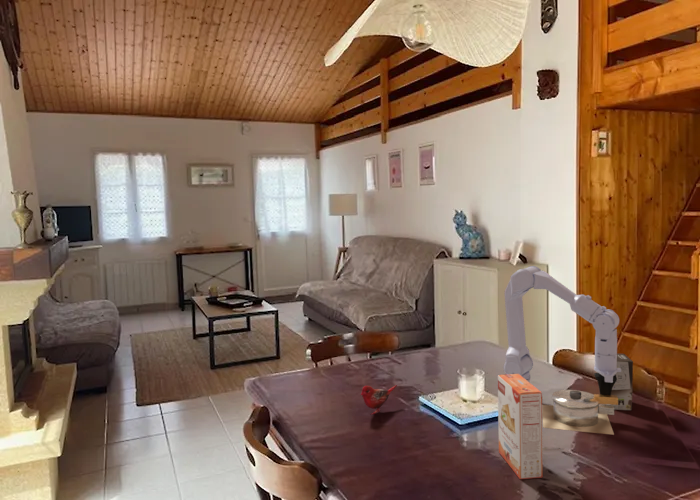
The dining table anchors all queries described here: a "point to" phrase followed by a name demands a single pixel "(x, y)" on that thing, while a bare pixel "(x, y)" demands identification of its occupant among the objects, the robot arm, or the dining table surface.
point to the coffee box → (623, 383)
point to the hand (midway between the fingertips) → (605, 399)
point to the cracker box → (520, 425)
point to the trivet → (600, 427)
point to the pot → (580, 414)
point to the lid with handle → (582, 399)
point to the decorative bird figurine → (375, 397)
